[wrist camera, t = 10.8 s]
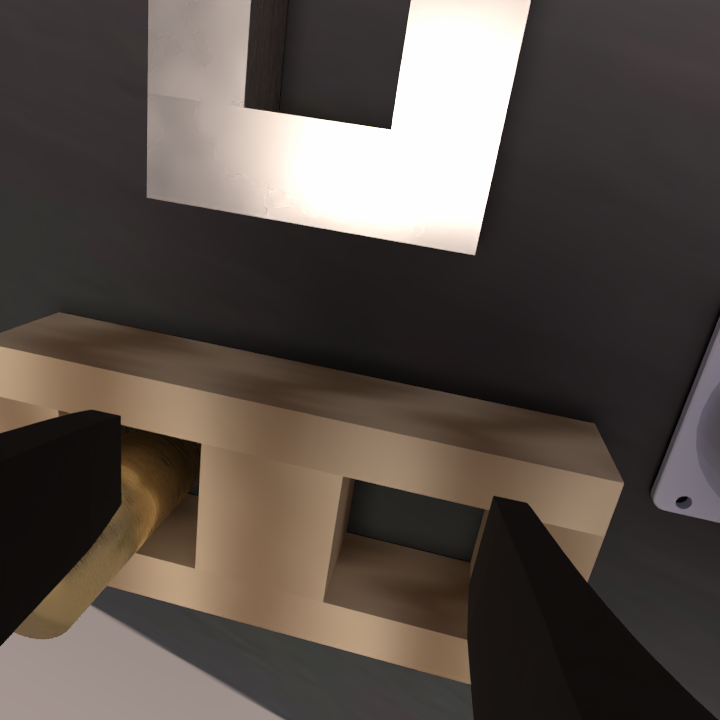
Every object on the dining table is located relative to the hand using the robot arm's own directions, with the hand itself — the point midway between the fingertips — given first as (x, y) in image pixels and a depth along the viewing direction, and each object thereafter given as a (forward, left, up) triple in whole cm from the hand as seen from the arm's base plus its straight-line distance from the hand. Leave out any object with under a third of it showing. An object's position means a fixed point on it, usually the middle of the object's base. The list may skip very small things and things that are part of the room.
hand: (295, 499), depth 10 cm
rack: (+2, +6, -10) cm, 12 cm away
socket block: (+2, -9, -10) cm, 14 cm away
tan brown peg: (+7, +6, -10) cm, 14 cm away
